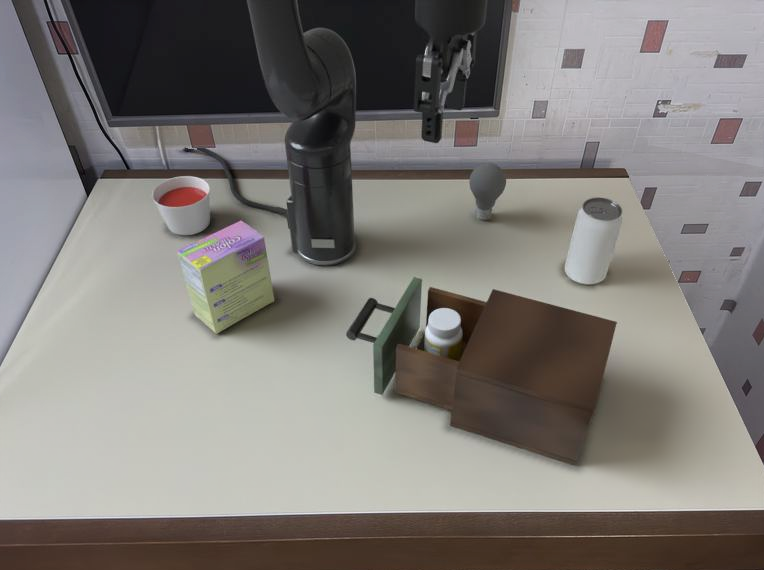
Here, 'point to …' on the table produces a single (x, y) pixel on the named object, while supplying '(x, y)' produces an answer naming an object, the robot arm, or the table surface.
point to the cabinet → (532, 375)
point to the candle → (184, 204)
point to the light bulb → (487, 187)
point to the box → (227, 275)
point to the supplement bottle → (444, 334)
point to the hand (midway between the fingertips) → (443, 124)
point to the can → (593, 240)
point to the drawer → (415, 366)
